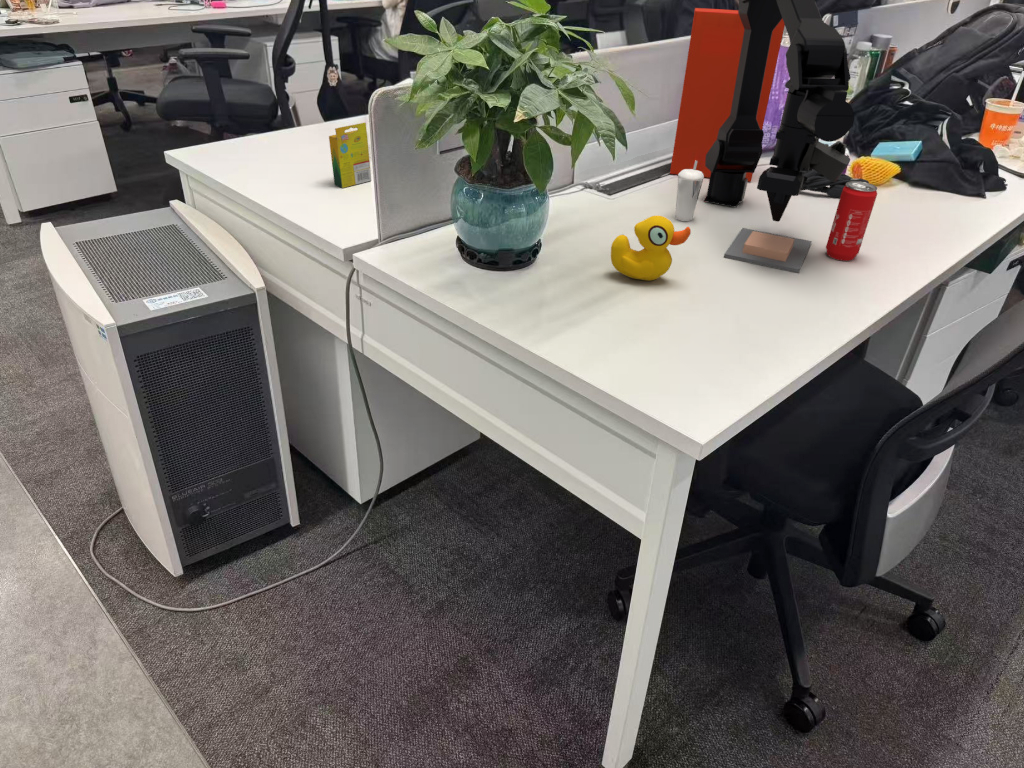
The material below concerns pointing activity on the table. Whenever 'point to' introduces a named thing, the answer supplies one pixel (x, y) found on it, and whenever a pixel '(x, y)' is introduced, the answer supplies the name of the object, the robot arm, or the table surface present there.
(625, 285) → the table surface
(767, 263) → the mat
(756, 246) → the tile
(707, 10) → the file binder
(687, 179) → the milkshake
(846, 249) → the beverage can
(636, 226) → the duckling
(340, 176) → the crayon box
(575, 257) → the table surface
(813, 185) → the cable
